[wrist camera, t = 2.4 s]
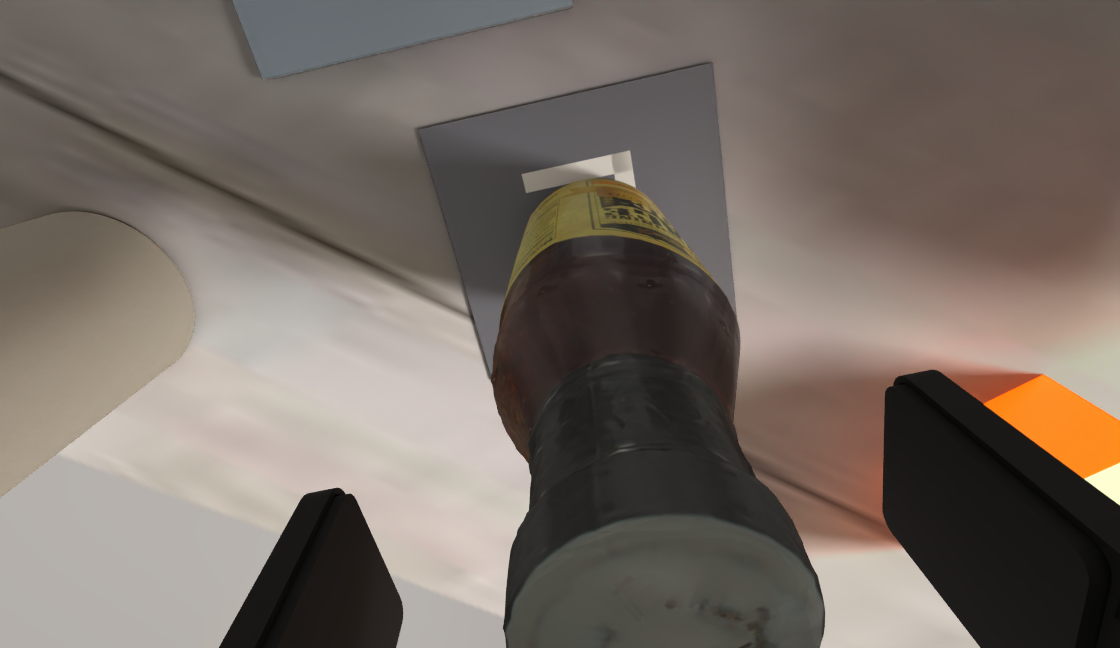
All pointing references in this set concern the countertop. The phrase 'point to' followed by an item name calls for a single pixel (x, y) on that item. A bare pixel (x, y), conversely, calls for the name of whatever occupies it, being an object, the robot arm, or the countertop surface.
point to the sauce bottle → (635, 445)
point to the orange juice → (1066, 430)
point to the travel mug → (79, 329)
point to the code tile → (580, 173)
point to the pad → (364, 27)
